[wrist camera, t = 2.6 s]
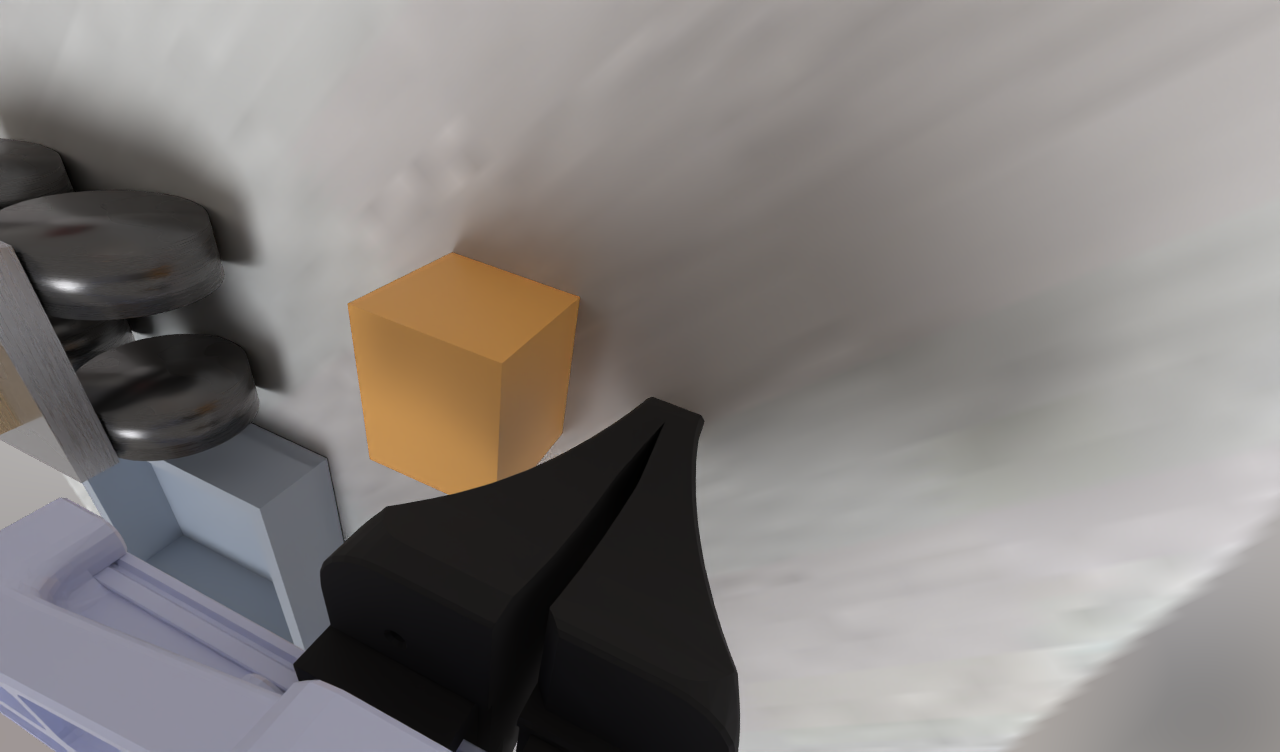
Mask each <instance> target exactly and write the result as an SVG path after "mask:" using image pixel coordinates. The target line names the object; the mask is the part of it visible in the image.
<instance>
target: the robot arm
mask: <svg viewBox="0 0 1280 752" xmlns="http://www.w3.org/2000/svg"><path fill="white" fill-rule="evenodd" d="M703 424H704V419H703V418H702V416H701V415H699V414H696V413H693V412H691V411H688V410H686V409H683V408H680V407H678V406H675V405H673V404H670V403H667V402H665V401H662V400H660V399H657V398H654V397H651V398H648V399H646V400H645V401H644V402H643V403H641V404H640V405H639V406H638V407H636V408H635V409H634V410H632V411H631V412H630V413H628V414H627V415H625V416H624V417H623V418H621V419H620V420H618V421H617V422H615V423H614V424H612V425H611V426H609V427H608V428H606V429H604V430H603V431H601V432H600V433H598V434H597V435H595V436H593V437H592V438H590V439H588V440H587V441H585V442H583V443H581V444H579V445H578V446H576V447H574V448H572V449H570V450H569V451H567V452H565V453H563V454H561V455H559V456H557V457H555V458H553V459H551V460H549V461H547V462H544V463H542V464H540V465H538V466H535V467H533V468H531V469H528V470H526V471H523V472H520V473H518V474H515V475H513V476H510V477H507V478H505V479H502V480H499V481H496V482H493V483H490V484H487V485H484V486H480V487H477V488H473V489H469V490H466V491H462V492H459V493H455V494H451V495H447V496H442V497H437V498H433V499H427V500H422V501H416V502H411V503H405V504H400V505H394V506H387V507H385V508H384V509H383V510H382V511H381V512H379V513H378V514H377V515H375V516H374V517H373V518H371V519H370V520H369V521H367V522H366V523H365V524H364V525H363V526H361V527H360V528H359V529H358V530H357V531H356V532H355V533H354V534H353V535H352V536H350V537H349V538H348V539H347V540H346V541H345V542H344V543H343V544H342V545H341V546H340V547H339V548H338V549H337V550H335V551H334V552H333V553H332V554H331V555H330V556H329V557H328V558H327V559H326V560H325V561H324V562H323V564H322V567H321V569H320V583H321V589H322V593H323V597H324V601H325V605H326V609H327V613H328V617H329V621H330V626H329V627H328V628H327V629H326V630H325V631H324V632H323V633H322V634H321V635H320V636H319V637H318V638H317V639H316V640H315V641H314V642H313V644H312V645H311V646H310V647H309V648H308V649H307V650H306V651H304V650H303V649H301V648H299V647H297V646H295V645H294V644H292V643H290V642H288V641H286V640H285V639H283V638H281V637H279V636H277V635H276V634H274V633H272V632H270V631H268V630H267V629H265V628H263V627H261V626H260V625H258V624H256V623H254V622H252V621H251V620H249V619H247V618H245V617H243V616H242V615H240V614H238V613H236V612H234V611H233V610H231V609H229V608H227V607H225V606H224V605H222V604H220V603H218V602H216V601H215V600H213V599H211V598H209V597H207V596H206V595H204V594H202V593H200V592H198V591H197V590H195V589H193V588H191V587H189V586H188V585H186V584H184V583H182V582H180V581H179V580H177V579H175V578H173V577H171V576H170V575H168V574H166V573H164V572H162V571H161V570H159V569H157V568H155V567H153V566H152V565H150V564H148V563H146V562H144V561H143V560H141V559H139V558H137V557H135V556H134V555H132V554H130V553H128V552H127V546H126V544H125V542H124V540H123V538H122V536H121V535H120V533H119V532H118V531H117V529H116V528H114V527H113V526H112V525H111V524H110V523H109V522H108V521H106V520H105V519H103V518H102V517H100V516H98V515H96V514H95V513H93V512H91V511H89V510H87V509H85V508H84V507H82V506H80V505H78V504H76V503H74V502H73V501H71V500H69V499H67V498H58V499H56V500H54V501H53V502H51V503H49V504H47V505H45V506H43V507H42V508H40V509H38V510H36V511H35V512H33V513H31V514H29V515H27V516H25V517H23V518H22V519H20V520H18V521H16V522H14V523H13V524H11V525H9V526H7V527H5V528H4V529H2V530H0V713H2V714H3V715H4V716H6V717H7V718H9V719H10V720H12V721H13V722H14V723H16V724H17V725H19V726H20V727H22V728H23V729H24V730H26V731H27V732H29V733H30V734H31V735H33V736H34V737H36V738H37V739H38V740H40V741H41V742H43V743H44V744H45V745H47V746H48V747H49V748H51V749H52V750H54V751H55V752H513V749H514V747H515V745H516V743H517V749H516V752H738V746H739V734H740V702H739V686H738V673H737V670H736V667H735V665H734V662H733V659H732V657H731V654H730V652H729V649H728V646H727V643H726V640H725V637H724V634H723V632H722V628H721V625H720V622H719V619H718V615H717V612H716V609H715V606H714V602H713V598H712V594H711V590H710V586H709V582H708V577H707V573H706V569H705V565H704V559H703V554H702V548H701V542H700V535H699V528H698V518H697V506H696V456H697V447H698V441H699V436H700V433H701V430H702V427H703Z"/></svg>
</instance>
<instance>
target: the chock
mask: <svg viewBox="0 0 1280 752" xmlns="http://www.w3.org/2000/svg"><path fill="white" fill-rule="evenodd" d="M579 301H580V297H578V296H576V295H573V294H570V293H567V292H564V291H561V290H558V289H556V288H553V287H550V286H547V285H544V284H541V283H538V282H536V281H533V280H530V279H527V278H524V277H521V276H519V275H516V274H513V273H510V272H507V271H504V270H501V269H499V268H496V267H493V266H490V265H487V264H484V263H481V262H479V261H476V260H473V259H470V258H467V257H464V256H462V255H459V254H456V253H453V252H452V253H450V254H448V255H446V256H444V257H442V258H439V259H437V260H435V261H433V262H431V263H429V264H427V265H425V266H423V267H421V268H419V269H417V270H415V271H413V272H411V273H409V274H407V275H405V276H403V277H401V278H399V279H397V280H395V281H393V282H391V283H389V284H387V285H385V286H383V287H381V288H379V289H376V290H374V291H372V292H370V293H368V294H366V295H364V296H362V297H360V298H358V299H356V300H354V301H352V302H350V303H348V311H349V318H350V325H351V332H352V339H353V346H354V352H355V359H356V366H357V373H358V380H359V387H360V394H361V401H362V408H363V415H364V422H365V429H366V436H367V443H368V450H369V457H370V459H371V460H373V461H375V462H377V463H380V464H382V465H384V466H386V467H388V468H391V469H393V470H395V471H397V472H399V473H402V474H404V475H406V476H408V477H411V478H413V479H415V480H417V481H419V482H422V483H424V484H426V485H428V486H431V487H433V488H435V489H437V490H439V491H442V492H444V493H446V494H448V495H451V494H455V493H459V492H462V491H466V490H469V489H473V488H477V487H480V486H484V485H487V484H490V483H493V482H496V481H499V480H502V479H505V478H507V477H510V476H513V475H515V474H518V473H520V472H523V471H526V470H528V469H531V468H533V467H535V466H536V465H537V464H538V463H539V462H540V460H541V459H542V458H543V457H544V455H545V454H546V453H547V452H548V450H549V449H550V448H551V447H552V446H553V444H554V443H555V442H556V441H557V439H558V438H559V437H560V436H561V434H562V431H563V423H564V415H565V408H566V400H567V392H568V385H569V377H570V370H571V362H572V354H573V347H574V339H575V332H576V324H577V316H578V309H579Z"/></svg>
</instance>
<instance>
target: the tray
mask: <svg viewBox="0 0 1280 752" xmlns="http://www.w3.org/2000/svg"><path fill="white" fill-rule="evenodd" d="M119 460H120V462H119V463H118V464H116V465H114V466H112V467H110V468H109V469H107V470H105V471H103V472H101V473H99V474H98V475H96V476H94V477H92V478H90V479H88V480H87V481H85V482H83V483H82V484H83V485H84V487H85V489H86V491H87V492H88V494H89V496H90V497H91V499H92V501H93V503H94V504H95V506H96V508H97V510H98V511H99V513H100V515H101V517H102V518H103V519H105V520H106V521H108V522H109V523H110V524H111V525H112V526H113V527H114V528H116V529H117V531H118V532H119V533H120V535H121V536H122V538H123V540H124V542H125V544H126V546H127V552H128V553H130V554H132V555H134V556H135V557H137V558H139V559H141V560H143V561H144V562H146V563H148V564H150V565H152V566H153V567H155V568H157V569H159V570H161V571H162V572H164V573H166V574H168V575H170V576H171V577H173V578H175V579H177V580H179V581H180V582H182V583H184V584H186V585H188V586H189V587H191V588H193V589H195V590H197V591H198V592H200V593H202V594H204V595H206V596H207V597H209V598H211V599H213V600H215V601H216V602H218V603H220V604H222V605H224V606H225V607H227V608H229V609H231V610H233V611H234V612H236V613H238V614H240V615H242V616H243V617H245V618H247V619H249V620H251V621H252V622H254V623H256V624H258V625H260V626H261V627H263V628H265V629H267V630H268V631H270V632H272V633H274V634H276V635H277V636H279V637H281V638H283V639H285V640H286V641H288V642H290V643H292V644H294V645H295V646H297V647H299V648H301V649H303V650H304V651H306V650H307V649H308V648H309V647H310V646H311V645H312V644H313V642H314V641H315V640H316V639H317V638H318V637H319V636H320V635H321V634H322V633H323V632H324V631H325V630H326V629H327V628H328V627H329V626H330V621H329V617H328V613H327V609H326V605H325V601H324V597H323V593H322V589H321V583H320V569H321V567H322V564H323V562H324V561H325V560H326V559H327V558H328V557H329V556H330V555H331V554H332V553H333V552H334V551H335V550H337V549H338V548H339V547H340V546H341V545H342V544H343V543H344V541H343V536H342V531H341V526H340V521H339V516H338V511H337V506H336V501H335V496H334V491H333V486H332V481H331V476H330V471H329V466H328V462H327V458H325V457H323V456H321V455H318V454H316V453H314V452H312V451H310V450H308V449H306V448H303V447H301V446H299V445H297V444H295V443H293V442H290V441H288V440H286V439H284V438H282V437H280V436H278V435H275V434H273V433H271V432H269V431H267V430H265V429H263V428H260V427H258V426H256V425H254V424H252V423H250V424H249V425H248V426H247V427H246V428H245V429H244V430H243V431H241V432H240V433H239V434H237V435H236V436H234V437H233V438H231V439H230V440H228V441H226V442H224V443H222V444H220V445H218V446H216V447H213V448H211V449H208V450H206V451H203V452H200V453H196V454H193V455H190V456H185V457H181V458H175V459H169V460H160V461H133V460H127V459H122V458H119Z"/></svg>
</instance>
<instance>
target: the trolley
mask: <svg viewBox="0 0 1280 752" xmlns="http://www.w3.org/2000/svg"><path fill="white" fill-rule="evenodd" d="M223 279H224V271H223V267H222V263H221V260H220V256H219V252H218V249H217V245H216V241H215V238H214V234H213V231H212V227H211V223H210V220H209V216H208V213H207V212H206V210H205V209H204V208H203V207H202V206H200V205H198V204H197V203H194V202H192V201H190V200H187V199H184V198H180V197H176V196H172V195H167V194H161V193H154V192H145V191H130V190H98V191H82V192H74V189H73V187H72V184H71V182H70V179H69V177H68V174H67V172H66V170H65V167H64V165H63V162H62V160H61V157H60V155H59V154H58V153H57V152H56V151H54V150H52V149H50V148H48V147H45V146H42V145H38V144H34V143H30V142H24V141H18V140H11V139H2V138H0V440H2V441H4V442H6V443H7V444H9V445H11V446H13V447H15V448H17V449H19V450H21V451H22V452H24V453H26V454H28V455H30V456H32V457H34V458H36V459H37V460H39V461H41V462H43V463H45V464H47V465H49V466H51V467H52V468H54V469H56V470H58V471H60V472H62V473H64V474H65V475H67V476H69V477H71V478H73V479H75V480H77V481H79V482H80V483H83V482H85V481H87V480H88V479H90V478H92V477H94V476H96V475H98V474H99V473H101V472H103V471H105V470H107V469H109V468H110V467H112V466H114V465H116V464H118V463H119V462H120V460H119V458H122V459H127V460H133V461H160V460H169V459H175V458H181V457H185V456H190V455H193V454H196V453H200V452H203V451H206V450H208V449H211V448H213V447H216V446H218V445H220V444H222V443H224V442H226V441H228V440H230V439H231V438H233V437H234V436H236V435H237V434H239V433H240V432H241V431H243V430H244V429H245V428H246V427H247V426H248V425H249V424H250V423H251V422H252V421H253V419H254V418H255V416H256V414H257V412H258V409H259V398H258V394H257V390H256V387H255V383H254V380H253V376H252V372H251V369H250V365H249V361H248V358H247V355H246V353H245V351H244V350H243V349H242V348H241V347H240V346H238V345H237V344H235V343H233V342H231V341H229V340H226V339H223V338H219V337H215V336H209V335H201V334H174V335H164V336H156V337H151V338H145V339H141V340H137V341H135V339H134V336H133V334H132V331H131V329H130V326H129V324H128V321H127V319H128V318H137V317H143V316H149V315H154V314H158V313H163V312H167V311H170V310H174V309H178V308H180V307H183V306H186V305H189V304H191V303H194V302H196V301H198V300H200V299H202V298H204V297H206V296H208V295H209V294H211V293H212V292H213V291H215V290H216V289H217V288H218V287H219V286H220V285H221V283H222V281H223Z"/></svg>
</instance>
